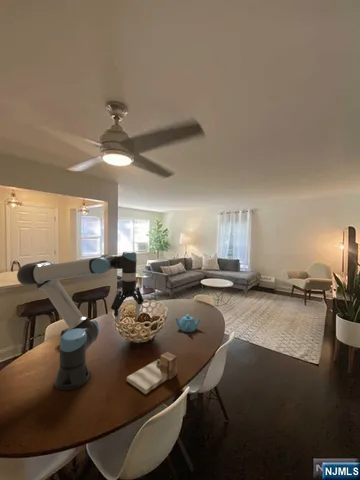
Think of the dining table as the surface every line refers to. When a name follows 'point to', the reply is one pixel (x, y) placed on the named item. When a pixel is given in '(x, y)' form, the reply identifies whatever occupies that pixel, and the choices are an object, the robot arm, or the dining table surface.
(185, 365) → the dining table surface
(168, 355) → the brown rectangular block
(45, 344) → the dining table surface
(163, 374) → the board
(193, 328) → the teapot
